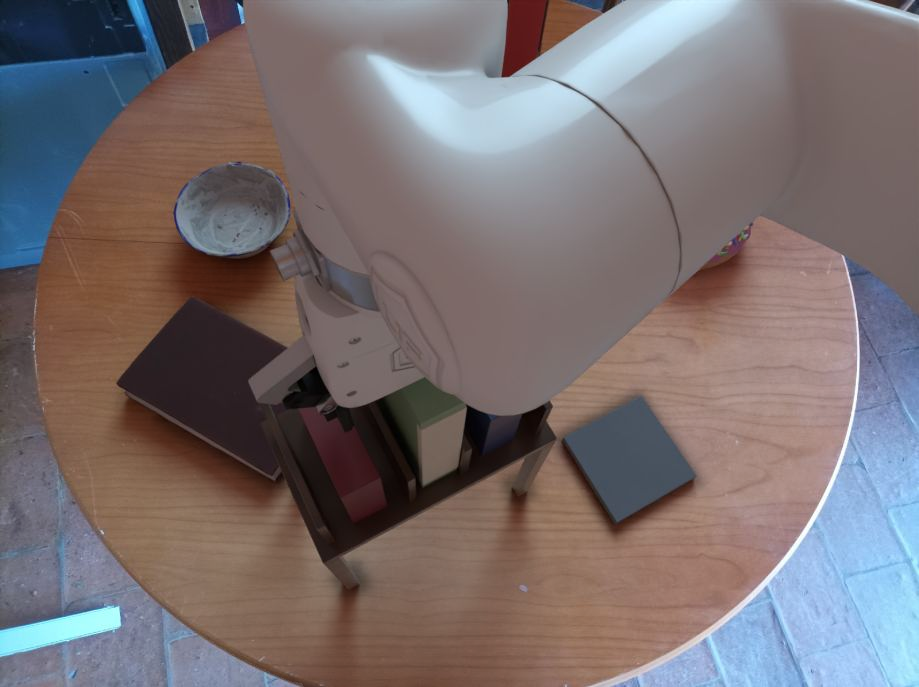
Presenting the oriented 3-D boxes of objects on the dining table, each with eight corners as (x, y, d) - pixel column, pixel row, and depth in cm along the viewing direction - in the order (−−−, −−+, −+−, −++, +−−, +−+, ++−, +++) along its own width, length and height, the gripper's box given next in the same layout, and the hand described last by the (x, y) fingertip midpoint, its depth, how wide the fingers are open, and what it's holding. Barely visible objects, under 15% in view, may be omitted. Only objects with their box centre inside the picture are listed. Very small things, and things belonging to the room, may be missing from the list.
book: (200, 305, 79) (191, 291, 76) (345, 385, 75) (341, 373, 72) (125, 396, 74) (112, 384, 71) (276, 485, 70) (270, 477, 67)
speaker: (530, 97, 94) (551, -23, 78) (475, 82, 95) (485, -40, 78) (544, 58, 97) (568, -65, 81) (491, 44, 98) (505, -81, 82)
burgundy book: (387, 506, 52) (380, 477, 44) (353, 524, 51) (340, 498, 44) (337, 405, 55) (322, 362, 48) (304, 421, 55) (284, 380, 47)
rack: (527, 491, 71) (571, 412, 49) (348, 590, 66) (310, 550, 45) (470, 394, 75) (488, 282, 54) (298, 480, 71) (241, 395, 49)
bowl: (171, 210, 84) (157, 185, 80) (271, 172, 87) (263, 146, 83) (208, 294, 79) (195, 272, 75) (313, 251, 82) (307, 227, 78)
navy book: (512, 440, 55) (527, 402, 47) (481, 456, 54) (490, 420, 46) (459, 347, 58) (463, 298, 50) (429, 361, 57) (429, 313, 50)
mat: (693, 478, 72) (697, 476, 72) (614, 524, 70) (617, 522, 69) (638, 398, 76) (641, 395, 75) (561, 440, 74) (563, 437, 73)
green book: (457, 470, 53) (468, 402, 40) (422, 489, 53) (421, 425, 39) (404, 373, 57) (396, 279, 43) (370, 389, 56) (352, 299, 42)
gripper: (229, 386, 26) (303, 493, 42) (612, 212, 30) (549, 369, 46) (163, 236, 29) (256, 389, 44) (523, 95, 33) (492, 281, 49)
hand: (405, 379), depth 45 cm, fingers open, 8 cm apart
